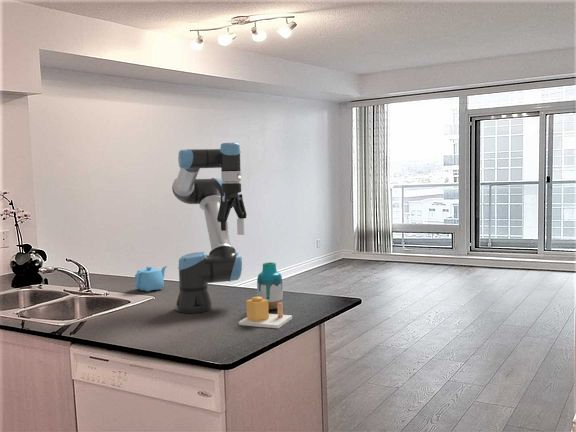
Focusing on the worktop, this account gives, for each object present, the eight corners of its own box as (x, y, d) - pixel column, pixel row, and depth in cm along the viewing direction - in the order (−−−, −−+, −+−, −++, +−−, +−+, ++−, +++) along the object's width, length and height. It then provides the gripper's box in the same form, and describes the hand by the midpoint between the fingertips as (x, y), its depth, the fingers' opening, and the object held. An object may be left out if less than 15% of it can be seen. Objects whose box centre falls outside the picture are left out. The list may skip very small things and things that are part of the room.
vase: (287, 307, 235) (286, 261, 233) (276, 313, 225) (275, 266, 224) (265, 305, 239) (263, 260, 238) (253, 311, 230) (251, 264, 228)
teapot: (174, 288, 279) (174, 265, 278) (142, 294, 266) (141, 270, 265) (161, 284, 287) (160, 262, 286) (129, 290, 275) (128, 267, 274)
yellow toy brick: (255, 321, 210) (255, 300, 209) (246, 318, 214) (246, 297, 214) (268, 318, 213) (268, 297, 212) (259, 315, 218) (259, 295, 217)
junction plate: (238, 324, 210) (238, 307, 210) (254, 315, 223) (254, 298, 222) (278, 328, 204) (277, 310, 204) (292, 318, 217) (291, 301, 217)
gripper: (224, 183, 205) (226, 241, 207) (253, 181, 228) (255, 233, 230) (206, 184, 208) (208, 240, 210) (237, 181, 231) (238, 232, 233)
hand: (233, 236), depth 220 cm, fingers open, 13 cm apart
